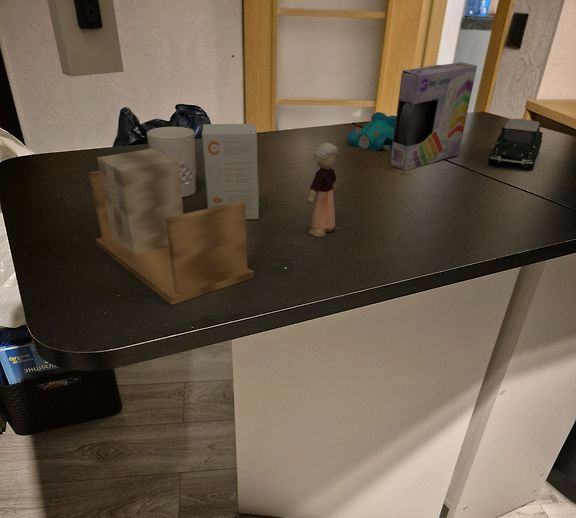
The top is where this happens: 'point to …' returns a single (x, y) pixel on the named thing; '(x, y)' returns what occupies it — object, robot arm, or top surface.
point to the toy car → (375, 133)
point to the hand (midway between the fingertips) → (85, 26)
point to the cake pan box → (431, 114)
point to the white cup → (177, 152)
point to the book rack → (166, 228)
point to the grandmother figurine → (323, 191)
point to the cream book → (86, 40)
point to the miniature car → (518, 142)
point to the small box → (231, 165)
